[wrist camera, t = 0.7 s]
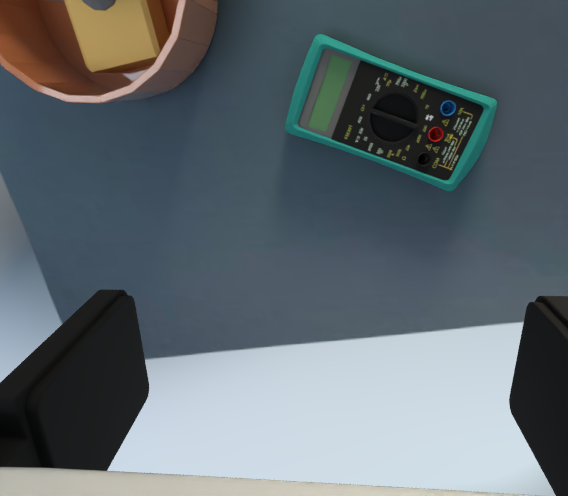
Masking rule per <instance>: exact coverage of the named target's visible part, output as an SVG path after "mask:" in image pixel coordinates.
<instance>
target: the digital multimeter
mask: <svg viewBox="0 0 568 496" xmlns="http://www.w3.org/2000/svg"><path fill="white" fill-rule="evenodd" d="M496 108H497V101H496V100H495V99H494V98H491V97H488V96H484V95H481V94H478V93H475V92H472V91H468V90H465V89H462V88H459V87H456V86H453V85H450V84H447V83H444V82H441V81H438V80H435V79H433V78H430V77H427V76H424V75H421V74H418V73H415V72H413V71H410V70H407V69H405V68H402V67H400V66H397V65H395V64H392V63H390V62H387V61H384V60H382V59H379V58H377V57H374V56H372V55H370V54H367V53H365V52H363V51H360V50H358V49H356V48H353V47H351V46H349V45H346V44H344V43H342V42H339V41H337V40H335V39H332V38H330V37H328V36H326V35H323V34H319V35H317V36H316V37H315V38H314V40H313V42H312V45H311V47H310V49H309V52H308V54H307V56H306V59H305V62H304V64H303V67H302V69H301V72H300V75H299V78H298V81H297V84H296V87H295V90H294V93H293V97H292V100H291V104H290V108H289V112H288V116H287V120H286V124H285V129H286V131H287V132H288V133H289V134H293V135H296V136H299V137H302V138H305V139H309V140H312V141H315V142H318V143H321V144H325V145H328V146H331V147H334V148H337V149H340V150H343V151H346V152H349V153H352V154H354V155H357V156H360V157H363V158H366V159H369V160H372V161H374V162H377V163H380V164H382V165H385V166H387V167H390V168H392V169H395V170H398V171H400V172H403V173H405V174H408V175H410V176H413V177H415V178H418V179H420V180H422V181H425V182H427V183H429V184H432V185H434V186H436V187H439V188H441V189H443V190H446V191H452V190H454V189H455V188H456V187H457V186H458V184H459V183H460V182H461V181H462V180H463V178H464V177H465V176H466V175H467V174H468V172H469V171H470V169H471V168H472V167H473V165H474V164H475V162H476V161H477V160H478V158H479V156H480V154H481V152H482V150H483V148H484V146H485V144H486V142H487V139H488V136H489V133H490V130H491V127H492V124H493V120H494V116H495V112H496Z"/></svg>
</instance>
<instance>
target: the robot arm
mask: <svg viewBox="0 0 568 496" xmlns="http://www.w3.org/2000/svg"><path fill="white" fill-rule="evenodd" d="M148 393H149V382H148V377H147V370H146V365H145V359H144V353H143V348H142V342H141V336H140V330H139V325H138V319H137V313H136V308H135V302H134V299H133V297H132V296H128V295H127V293H126V292H125V291H124V290H99V291H98V292H96V293H95V294H94V295H93V296H92V297H91V298H90V299H89V300H88V301H87V302H86V303H85V304H84V305H83V306H82V307H80V308H79V309H78V310H77V311H76V312H75V313H74V314H73V315H72V316H71V317H70V318H69V319H68V320H67V321H66V322H64V323H63V324H62V325H61V326H60V327H59V328H58V329H57V330H56V331H55V332H54V333H53V334H52V335H51V336H50V337H48V338H47V340H45V341H44V342H43V343H42V344H41V345H40V346H39V347H38V348H37V349H36V350H35V351H34V352H33V353H31V354H30V355H29V356H28V357H27V358H26V359H25V360H24V361H23V362H22V363H21V364H20V365H19V366H18V367H17V368H16V369H14V371H12V372H11V373H10V374H9V375H8V376H7V377H6V378H5V379H4V380H3V381H2V382H1V383H0V496H536V495H519V494H504V493H488V492H472V491H456V490H438V489H420V488H402V487H385V486H367V485H350V484H349V485H348V484H332V483H314V482H296V481H280V480H262V479H244V478H227V477H226V478H225V477H210V476H193V475H175V474H154V473H136V472H116V471H107V469H108V468H109V466H110V464H111V462H112V460H113V459H114V457H115V455H116V453H117V452H118V450H119V448H120V446H121V444H122V443H123V441H124V439H125V437H126V435H127V434H128V432H129V430H130V428H131V427H132V425H133V423H134V421H135V419H136V418H137V416H138V414H139V412H140V410H141V409H142V407H143V405H144V403H145V401H146V399H147V397H148ZM509 401H510V409H511V413H512V415H513V417H514V419H515V421H516V423H517V424H518V426H519V428H520V430H521V432H522V434H523V435H524V437H525V439H526V441H527V443H528V444H529V447H530V448H531V450H532V452H533V454H534V456H535V458H536V459H537V461H538V463H539V465H540V467H541V469H542V471H543V472H544V474H545V476H546V478H547V480H548V482H549V484H550V485H551V487H552V489H553V491H554V493H555V495H556V496H568V296H539V297H537V299H536V300H535V302H530V303H529V304H528V306H527V309H526V314H525V319H524V325H523V330H522V335H521V340H520V345H519V350H518V356H517V361H516V366H515V372H514V377H513V382H512V387H511V393H510V399H509Z"/></svg>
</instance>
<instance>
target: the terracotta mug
mask: <svg viewBox="0 0 568 496" xmlns="http://www.w3.org/2000/svg"><path fill="white" fill-rule="evenodd" d="M160 2H161V5H162V9H163V13H164V17H165V20H166V24H167V28H168V32H169V35H170V36H169V38H168V40H167V41H166V43H165V45H164V47H163V48H162V50H161V52H160V54H159V55H158V57H157V59H156V61H155V62H154V63H153V64H149V65H145V66H141V67H137V68H132V69H128V70H124V71H120V72H116V73H94V72H91V71H90V70H89V69H88V68H87V67H86V64H85V61H84V58H83V55H82V52H81V49H80V46H79V43H78V40H77V37H76V34H75V31H74V28H73V25H72V22H71V19H70V16H69V13H68V10H67V7H66V4H65V1H53V0H0V64H1V65H2V66H3V67H4V68H5V69H6V70H8V71H9V72H11V73H12V74H13V75H15V76H16V77H17V78H19V79H20V80H21V81H23V82H24V83H26V84H27V85H28V86H30V87H31V88H32V89H34V90H35V91H38V92H41V93H44V94H46V95H49V96H52V97H55V98H57V99H60V100H63V101H66V102H70V103H108V102H117V101H126V100H136V99H145V98H149V97H152V96H155V95H158V94H162V93H164V92H167V91H170V90H171V89H173V88H175V87H176V86H177V85H179V84H180V83H182V82H183V81H184V80H185V79H186V78H188V77H189V76H190V75H191V74H192V73H193V72H194V70H195V69H196V68H197V67H198V65H199V64H200V62H201V61H202V59H203V58H204V56H205V54H206V52H207V50H208V48H209V46H210V43H211V40H212V37H213V34H214V30H215V25H216V20H217V10H218V0H160Z"/></svg>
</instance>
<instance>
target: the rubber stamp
mask: <svg viewBox="0 0 568 496" xmlns="http://www.w3.org/2000/svg"><path fill="white" fill-rule="evenodd" d="M53 1H65V4H66V7H67V10H68V13H69V16H70V19H71V22H72V25H73V28H74V31H75V34H76V37H77V40H78V43H79V46H80V49H81V52H82V55H83V58H84V61H85V64H86V67H87V68H88V69H89V70H90V71H91V72H94V73H116V72H120V71H124V70H128V69H132V68H137V67H141V66H145V65H149V64H153V63H154V62H155V61H156V59H157V57H158V55H159V54H160V52H161V50H162V48H163V47H164V45H165V43H166V41H167V40H168V38H169V36H170V35H169V32H168V28H167V24H166V20H165V17H164V13H163V9H162V5H161V2H160V0H53Z"/></svg>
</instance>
